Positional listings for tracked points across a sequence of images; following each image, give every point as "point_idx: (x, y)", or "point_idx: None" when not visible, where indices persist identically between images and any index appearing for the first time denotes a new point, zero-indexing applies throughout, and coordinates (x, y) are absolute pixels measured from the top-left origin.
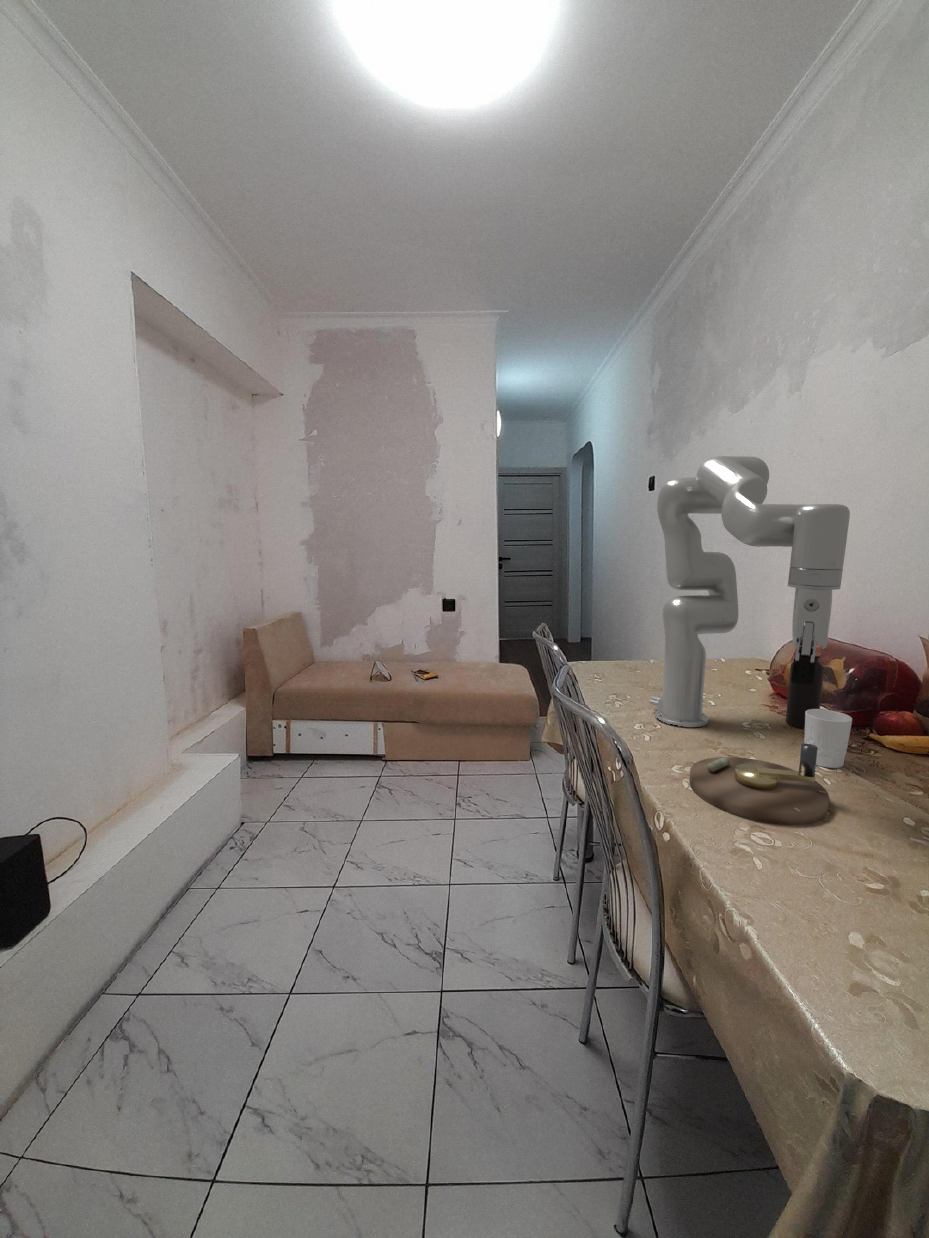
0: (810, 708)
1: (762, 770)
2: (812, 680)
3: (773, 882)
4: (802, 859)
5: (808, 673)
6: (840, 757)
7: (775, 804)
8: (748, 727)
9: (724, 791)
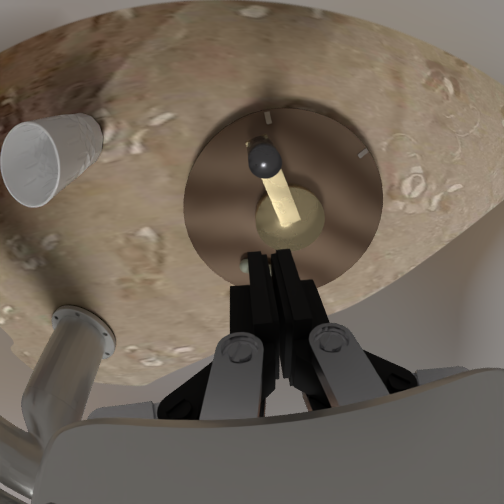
0: None
1: (289, 215)
2: (293, 260)
3: (474, 174)
4: (436, 146)
5: (319, 296)
6: (81, 117)
7: (358, 180)
8: (36, 259)
9: (348, 244)
